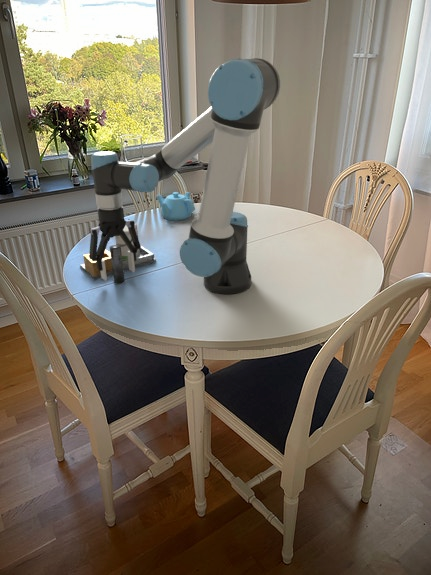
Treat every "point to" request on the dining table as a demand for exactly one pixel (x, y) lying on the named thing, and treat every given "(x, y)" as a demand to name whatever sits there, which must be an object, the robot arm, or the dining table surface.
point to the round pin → (117, 264)
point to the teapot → (176, 206)
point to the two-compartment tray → (91, 266)
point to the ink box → (123, 246)
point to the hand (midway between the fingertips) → (118, 274)
